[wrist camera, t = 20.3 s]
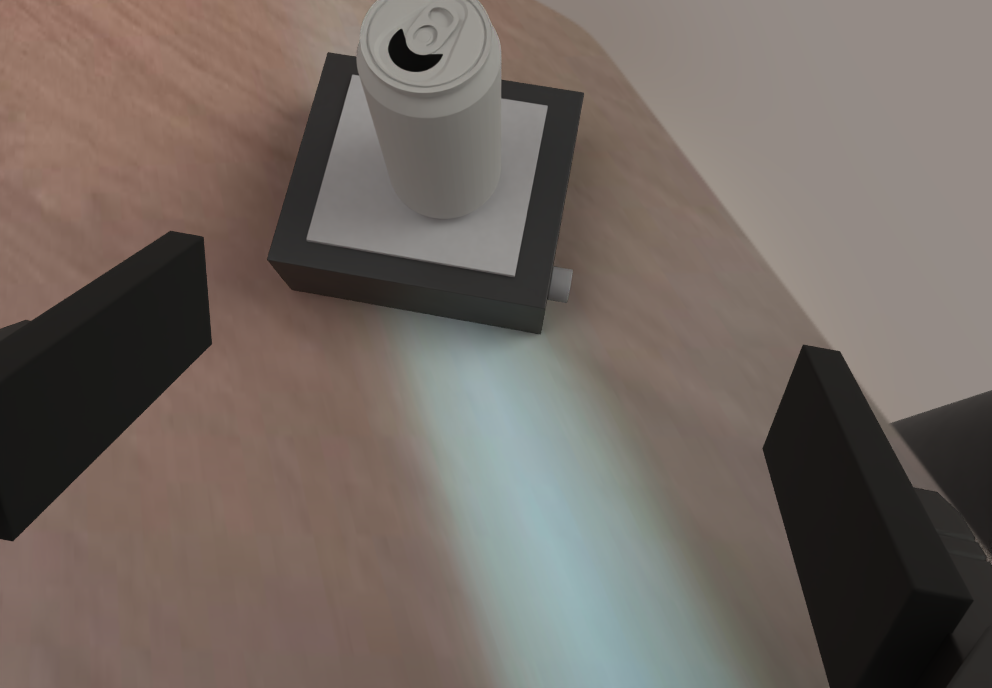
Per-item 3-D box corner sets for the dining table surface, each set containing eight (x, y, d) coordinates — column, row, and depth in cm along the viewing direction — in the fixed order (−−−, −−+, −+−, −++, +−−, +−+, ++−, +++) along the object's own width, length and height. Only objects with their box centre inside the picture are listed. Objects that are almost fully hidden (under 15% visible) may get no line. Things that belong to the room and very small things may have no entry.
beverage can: (368, 185, 42) (318, 49, 31) (435, 106, 44) (411, -53, 32) (457, 245, 41) (440, 127, 30) (523, 162, 43) (531, 18, 31)
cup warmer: (594, 140, 49) (604, 92, 44) (559, 337, 45) (567, 310, 40) (344, 99, 50) (326, 48, 45) (291, 289, 46) (264, 257, 41)
